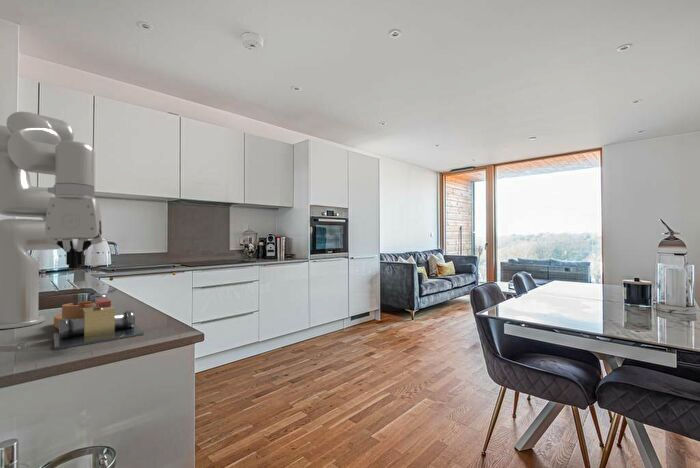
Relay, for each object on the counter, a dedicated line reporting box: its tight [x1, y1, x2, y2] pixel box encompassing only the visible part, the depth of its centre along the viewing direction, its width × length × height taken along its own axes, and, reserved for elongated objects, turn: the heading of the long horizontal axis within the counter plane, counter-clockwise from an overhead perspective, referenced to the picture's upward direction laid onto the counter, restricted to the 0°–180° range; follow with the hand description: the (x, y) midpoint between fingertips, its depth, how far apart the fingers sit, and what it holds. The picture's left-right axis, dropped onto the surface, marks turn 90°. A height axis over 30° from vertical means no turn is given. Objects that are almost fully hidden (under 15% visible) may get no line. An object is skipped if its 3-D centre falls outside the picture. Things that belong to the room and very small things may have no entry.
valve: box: [53, 302, 145, 351], centre depth 89 cm, size 15×18×9 cm
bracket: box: [53, 300, 93, 330], centre depth 97 cm, size 18×8×7 cm, turn 51°
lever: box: [89, 293, 112, 308], centre depth 86 cm, size 14×4×2 cm, turn 43°
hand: (75, 267), depth 81 cm, fingers closed
